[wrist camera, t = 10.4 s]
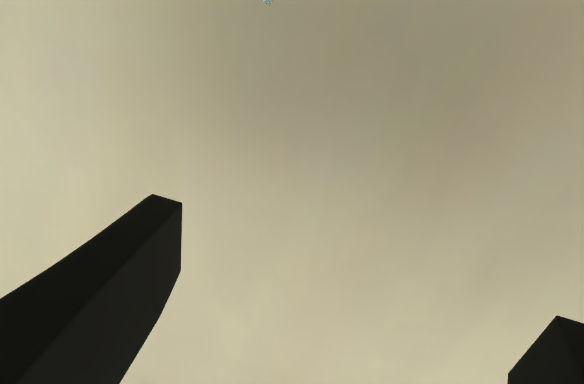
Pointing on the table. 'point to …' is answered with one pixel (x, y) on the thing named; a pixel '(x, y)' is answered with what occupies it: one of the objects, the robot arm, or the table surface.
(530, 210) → the table surface
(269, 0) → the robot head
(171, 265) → the robot arm
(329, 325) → the table surface
